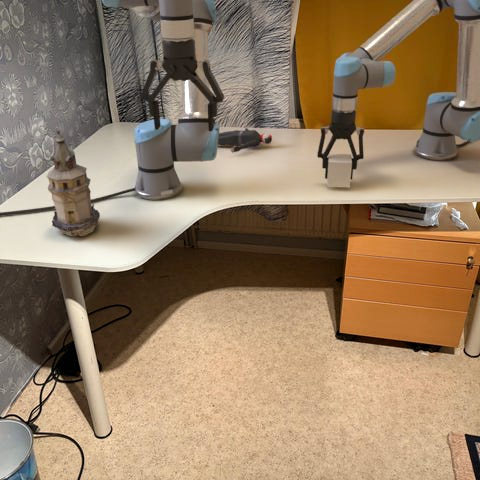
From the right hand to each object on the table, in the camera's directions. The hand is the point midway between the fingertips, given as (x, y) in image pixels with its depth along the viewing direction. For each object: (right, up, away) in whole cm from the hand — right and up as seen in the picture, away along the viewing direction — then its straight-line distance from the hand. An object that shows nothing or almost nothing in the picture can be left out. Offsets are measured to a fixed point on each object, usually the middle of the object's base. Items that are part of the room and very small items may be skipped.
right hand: (338, 177), depth 178 cm
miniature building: (-80, -18, -22) cm, 85 cm away
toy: (-35, +17, +38) cm, 54 cm away
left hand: (-47, +7, -45) cm, 65 cm away
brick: (0, -1, +1) cm, 2 cm away
